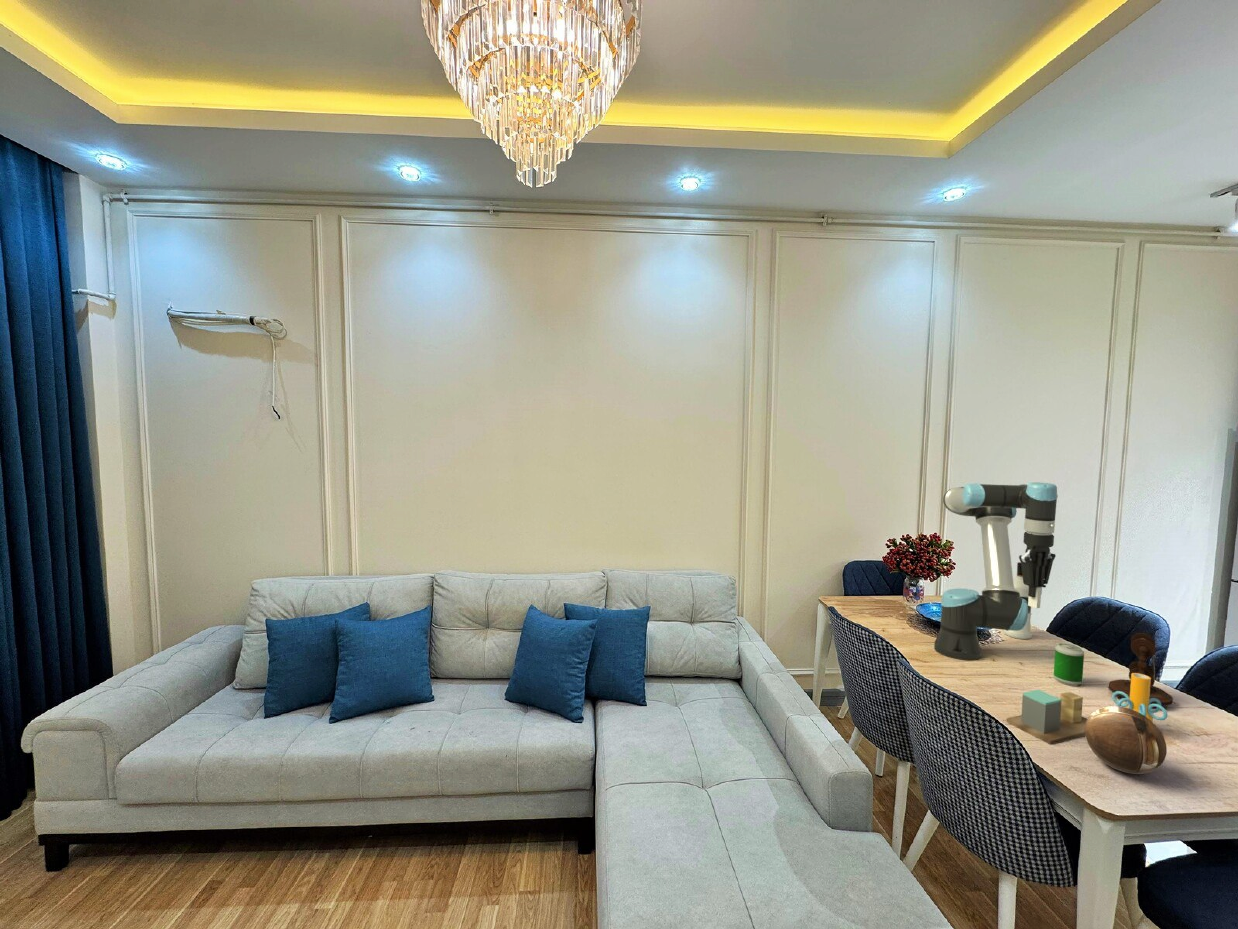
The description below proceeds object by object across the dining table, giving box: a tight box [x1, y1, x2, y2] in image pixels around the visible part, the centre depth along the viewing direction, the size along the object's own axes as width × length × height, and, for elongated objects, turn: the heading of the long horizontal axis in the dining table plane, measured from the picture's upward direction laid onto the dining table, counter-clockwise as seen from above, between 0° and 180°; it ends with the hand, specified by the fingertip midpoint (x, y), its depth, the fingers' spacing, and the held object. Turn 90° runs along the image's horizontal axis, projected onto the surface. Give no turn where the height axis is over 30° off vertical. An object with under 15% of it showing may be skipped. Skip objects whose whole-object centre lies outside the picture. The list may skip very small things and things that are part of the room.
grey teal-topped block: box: [1021, 689, 1062, 734], centre depth 156 cm, size 6×6×9 cm
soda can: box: [1053, 642, 1085, 687], centre depth 186 cm, size 8×8×12 cm
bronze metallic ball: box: [1085, 705, 1168, 775], centre depth 139 cm, size 15×15×15 cm
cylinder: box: [1111, 673, 1168, 723], centre depth 157 cm, size 12×10×15 cm
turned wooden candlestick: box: [1107, 632, 1174, 711], centre depth 174 cm, size 15×15×20 cm
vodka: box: [1002, 561, 1033, 640], centre depth 226 cm, size 9×9×30 cm
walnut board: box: [1006, 691, 1088, 745], centre depth 158 cm, size 12×22×8 cm, turn 109°
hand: (1034, 606), depth 176 cm, fingers closed
